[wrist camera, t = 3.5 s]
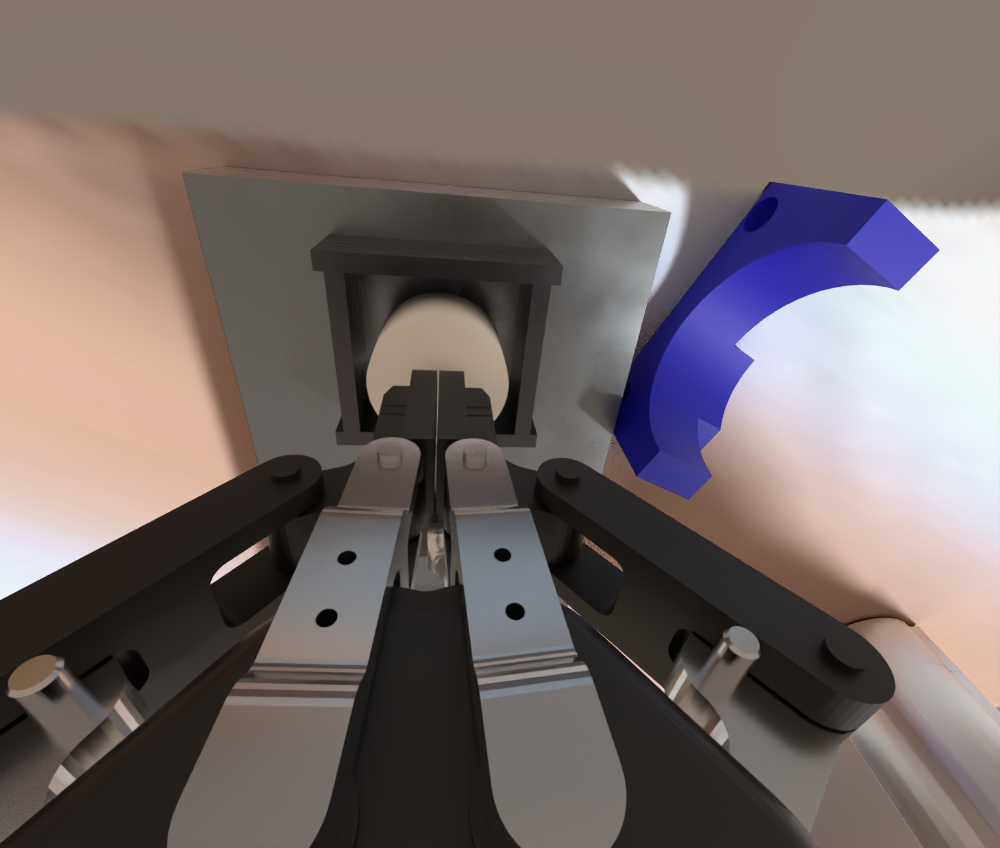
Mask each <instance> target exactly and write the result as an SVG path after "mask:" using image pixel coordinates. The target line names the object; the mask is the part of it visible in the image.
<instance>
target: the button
mask: <svg viewBox="0 0 1000 848" xmlns="http://www.w3.org/2000/svg"><path fill="white" fill-rule="evenodd" d="M412 370H437V420H438V395H439V370H444V371H464V378H465V388H482V389H483V390H484V391H485V392H486V393H487V394H488V395H489V396H490V400H491V407H492V413H493V420H494V421H495V420H496V418H497V417H498V415H499V414H500V413H501V411H502V409H503V407H504V405H505V402H506V399H507V394H508V387H509V380H508V372H507V368H506V364H505V360H504V355H503V351H502V347H501V343H500V339H499V335H498V332H497V330H496V327H495V326H494V324H493V322H492V320H491V319H490V318H489V317H488V315H487V314H486V313H485V312H484V311H483V310H482V309H481V308H480V307H478V306H477V305H476V304H474V303H473V302H471V301H469V300H467V299H465V298H463V297H460V296H458V295H454V294H449V293H426V294H421V295H418V296H415V297H412V298H410V299H408V300H406V301H405V302H403V303H401V304H400V305H399V306H397V307H396V308H395V309H394V310H393V311H392V312H391V313H390V314H389V316H388V317H387V319H386V320H385V322H384V324H383V326H382V328H381V331H380V334H379V337H378V339H377V342H376V345H375V348H374V351H373V353H372V356H371V359H370V362H369V366H368V369H367V376H366V385H367V391H368V396H369V399H370V402H371V404H372V406H373V408H374V410H375V411H376V413H377V414H378V415H379V411H380V407H381V403H382V399H383V395H384V394H385V393H386V392H387V391H388V390H389V389H390V388H391V387H392V386H410V380H411V374H412ZM436 445H437V438H436Z"/></svg>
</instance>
